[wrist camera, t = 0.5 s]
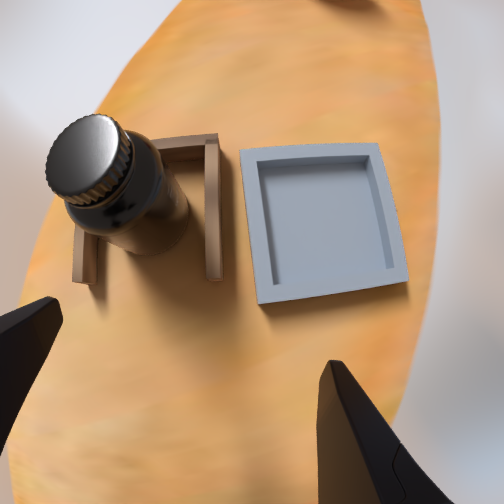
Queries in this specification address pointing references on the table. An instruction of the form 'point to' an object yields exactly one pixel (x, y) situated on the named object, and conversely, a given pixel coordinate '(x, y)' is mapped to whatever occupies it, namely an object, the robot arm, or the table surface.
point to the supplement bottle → (117, 185)
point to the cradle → (210, 151)
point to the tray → (320, 220)
